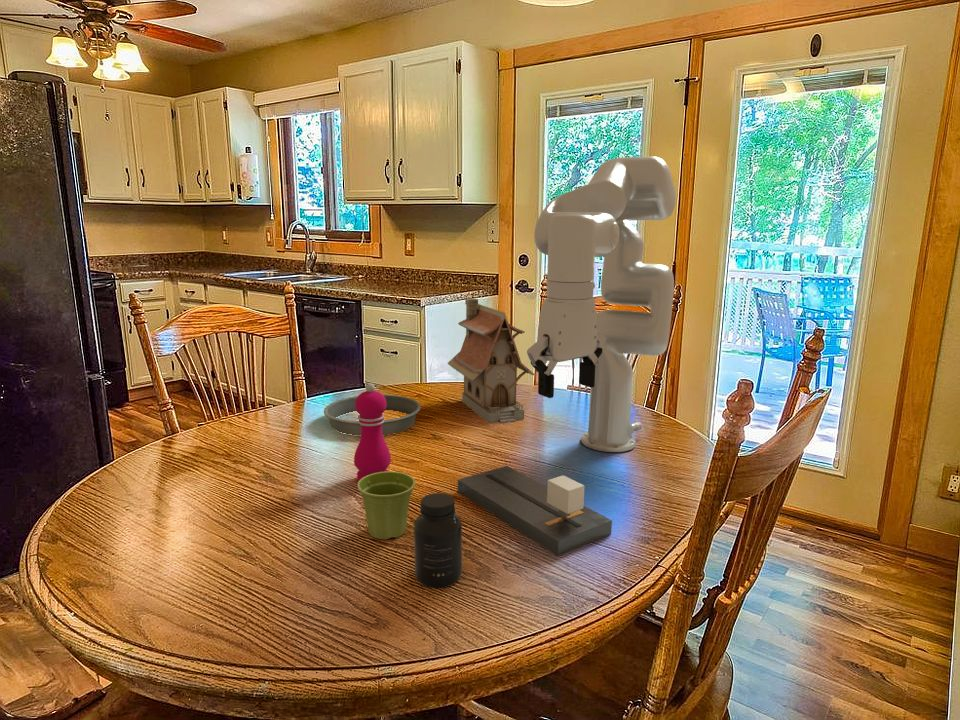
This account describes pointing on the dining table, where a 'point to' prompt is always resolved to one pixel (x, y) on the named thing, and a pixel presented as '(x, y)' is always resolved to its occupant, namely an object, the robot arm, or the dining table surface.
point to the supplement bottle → (438, 542)
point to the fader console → (533, 510)
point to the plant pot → (386, 502)
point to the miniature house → (489, 364)
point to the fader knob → (565, 495)
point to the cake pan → (388, 426)
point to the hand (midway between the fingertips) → (566, 390)
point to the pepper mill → (371, 434)
